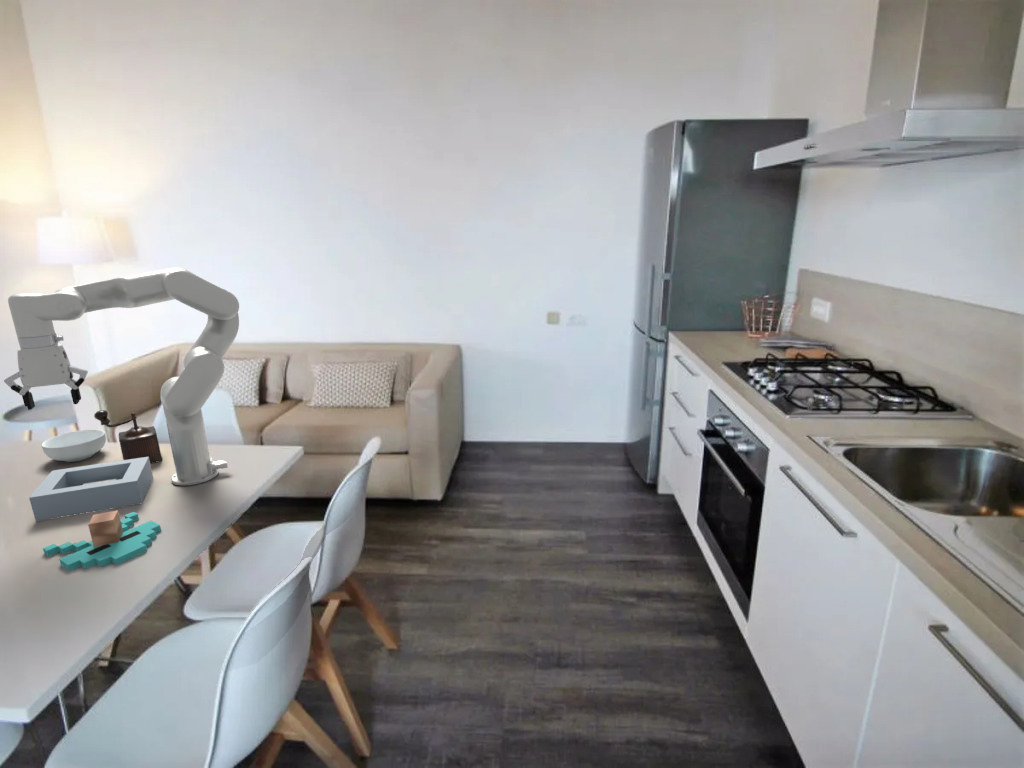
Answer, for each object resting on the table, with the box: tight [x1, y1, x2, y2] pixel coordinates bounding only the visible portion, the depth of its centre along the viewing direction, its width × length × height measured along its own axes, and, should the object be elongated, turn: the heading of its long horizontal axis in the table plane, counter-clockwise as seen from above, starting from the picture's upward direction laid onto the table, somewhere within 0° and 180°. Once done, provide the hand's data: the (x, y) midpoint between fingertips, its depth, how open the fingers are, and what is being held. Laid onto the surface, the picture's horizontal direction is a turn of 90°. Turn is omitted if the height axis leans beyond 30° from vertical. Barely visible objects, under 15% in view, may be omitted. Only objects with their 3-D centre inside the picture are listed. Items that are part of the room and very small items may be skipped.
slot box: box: [28, 457, 154, 522], centre depth 160 cm, size 24×18×7 cm
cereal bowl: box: [41, 428, 107, 463], centre depth 188 cm, size 17×17×7 cm
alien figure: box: [42, 511, 162, 572], centre depth 137 cm, size 20×2×20 cm
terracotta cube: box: [87, 510, 123, 547], centre depth 136 cm, size 5×5×6 cm
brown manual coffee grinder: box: [93, 409, 163, 464], centre depth 183 cm, size 16×11×18 cm
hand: (54, 405), depth 149 cm, fingers open, 9 cm apart
